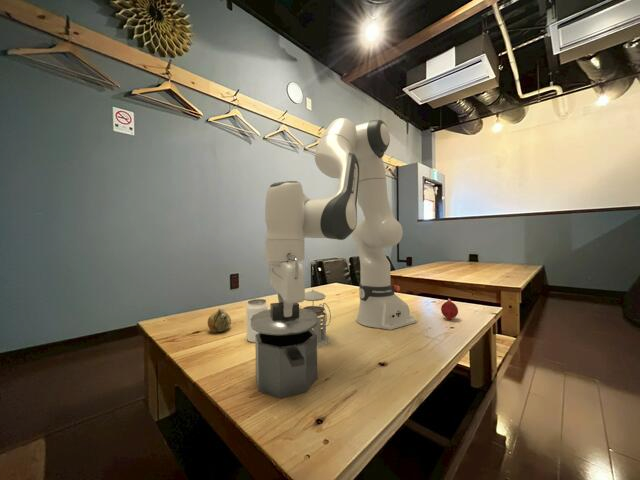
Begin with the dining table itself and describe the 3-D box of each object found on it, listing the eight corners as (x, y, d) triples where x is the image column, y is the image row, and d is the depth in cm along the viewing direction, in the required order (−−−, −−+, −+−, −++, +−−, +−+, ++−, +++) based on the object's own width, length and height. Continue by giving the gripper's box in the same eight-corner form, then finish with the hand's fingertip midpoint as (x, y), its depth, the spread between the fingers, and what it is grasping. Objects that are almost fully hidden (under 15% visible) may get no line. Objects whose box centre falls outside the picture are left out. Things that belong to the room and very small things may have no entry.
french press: (314, 331, 85) (313, 258, 85) (339, 341, 77) (339, 260, 76) (291, 339, 78) (290, 260, 78) (316, 352, 70) (316, 263, 69)
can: (262, 344, 75) (262, 304, 75) (243, 342, 76) (242, 303, 76) (271, 335, 82) (270, 299, 81) (252, 334, 83) (252, 298, 83)
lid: (306, 309, 66) (306, 294, 66) (327, 329, 52) (327, 309, 52) (248, 315, 61) (248, 298, 61) (254, 339, 47) (254, 317, 47)
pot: (301, 353, 69) (301, 317, 69) (330, 399, 50) (329, 349, 49) (252, 362, 64) (252, 323, 64) (263, 416, 45) (262, 361, 45)
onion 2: (461, 322, 92) (461, 301, 92) (445, 322, 93) (445, 301, 92) (453, 317, 98) (453, 297, 98) (438, 317, 98) (438, 297, 98)
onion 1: (236, 327, 89) (236, 305, 89) (222, 336, 82) (222, 311, 81) (217, 325, 91) (217, 304, 91) (202, 334, 83) (202, 310, 83)
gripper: (312, 255, 48) (312, 326, 48) (288, 249, 67) (288, 301, 67) (280, 256, 46) (280, 331, 46) (264, 250, 65) (265, 303, 65)
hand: (285, 313), depth 57 cm, fingers closed on lid, 3 cm apart
